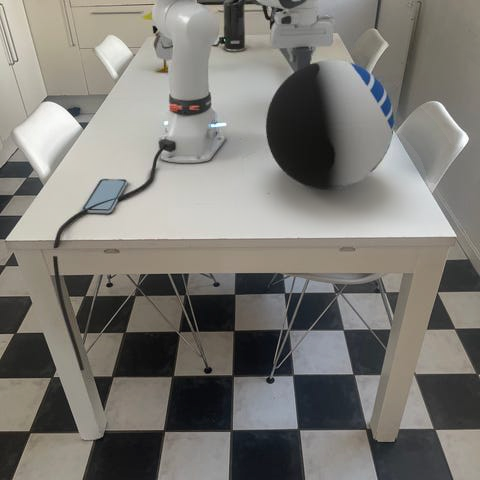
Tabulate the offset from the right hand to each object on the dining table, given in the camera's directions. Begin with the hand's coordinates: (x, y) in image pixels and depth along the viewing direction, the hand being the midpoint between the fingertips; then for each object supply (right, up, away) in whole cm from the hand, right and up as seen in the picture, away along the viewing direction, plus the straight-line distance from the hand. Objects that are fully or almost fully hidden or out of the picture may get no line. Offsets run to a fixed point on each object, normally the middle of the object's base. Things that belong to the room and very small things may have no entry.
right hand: (278, 30), depth 202 cm
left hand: (+5, -24, -34) cm, 41 cm away
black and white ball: (+6, -68, -70) cm, 98 cm away
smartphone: (-48, -72, -74) cm, 114 cm away
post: (+2, -15, -15) cm, 21 cm away
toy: (-43, -12, +10) cm, 46 cm away
